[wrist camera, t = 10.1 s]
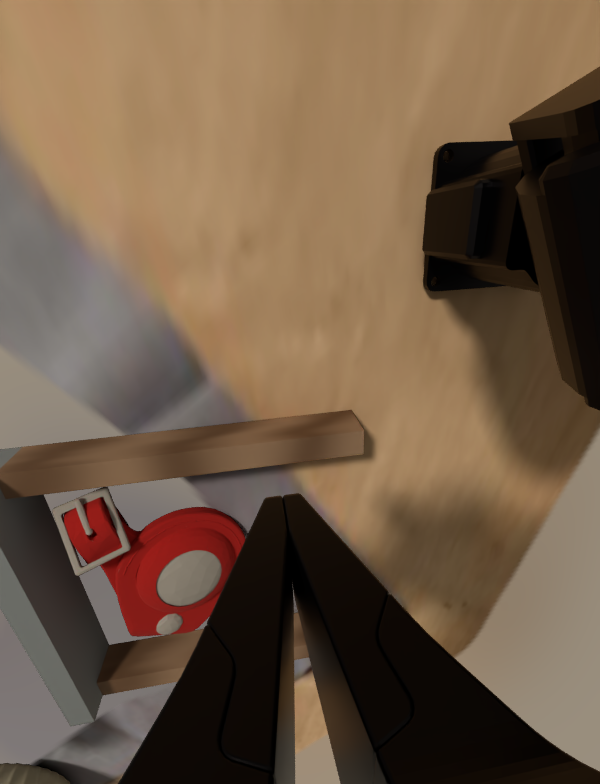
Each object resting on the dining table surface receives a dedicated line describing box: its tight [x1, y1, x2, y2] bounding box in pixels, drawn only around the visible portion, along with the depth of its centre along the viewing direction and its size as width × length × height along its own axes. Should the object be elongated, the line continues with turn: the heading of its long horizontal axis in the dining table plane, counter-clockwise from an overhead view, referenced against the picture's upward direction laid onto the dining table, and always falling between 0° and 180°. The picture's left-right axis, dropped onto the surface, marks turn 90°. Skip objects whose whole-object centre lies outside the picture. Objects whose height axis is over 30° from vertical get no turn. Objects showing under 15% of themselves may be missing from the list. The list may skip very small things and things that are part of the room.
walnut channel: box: [0, 410, 364, 695], centre depth 23 cm, size 18×19×2 cm
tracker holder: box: [52, 487, 246, 636], centre depth 23 cm, size 12×4×10 cm
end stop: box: [0, 447, 109, 726], centre depth 22 cm, size 2×19×4 cm, turn 3°
